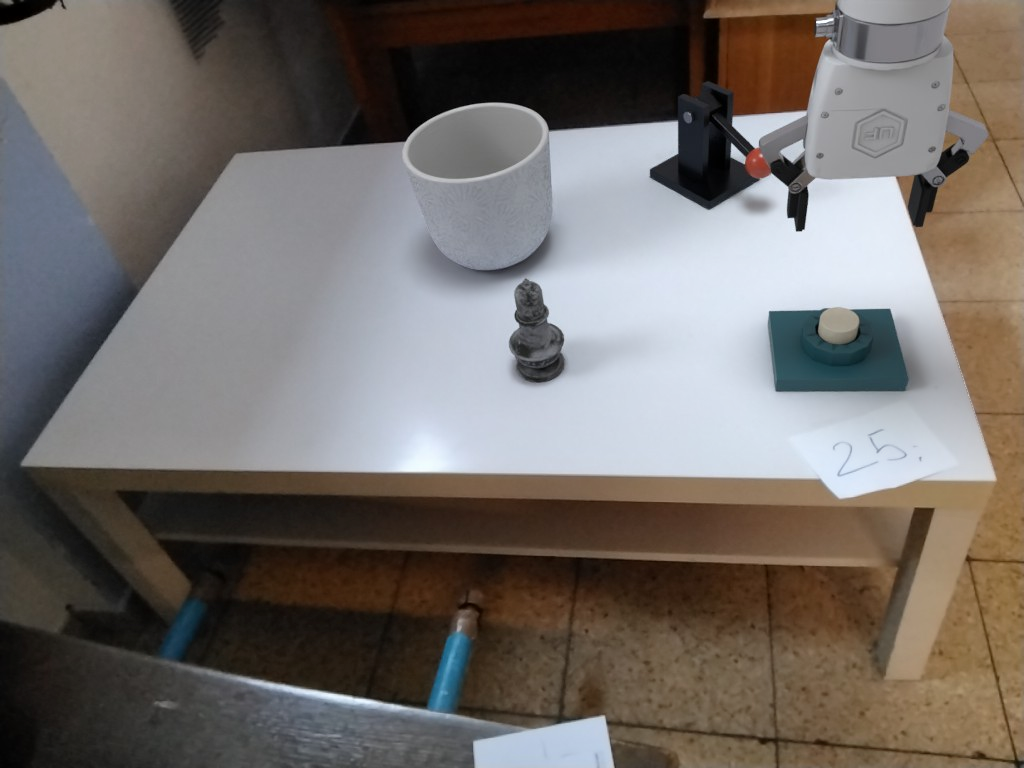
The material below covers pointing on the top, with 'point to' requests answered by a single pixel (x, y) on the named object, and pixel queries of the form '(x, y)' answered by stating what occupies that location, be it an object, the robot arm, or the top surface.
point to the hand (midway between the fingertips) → (855, 220)
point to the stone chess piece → (535, 336)
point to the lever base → (703, 153)
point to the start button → (838, 326)
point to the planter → (483, 182)
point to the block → (836, 354)
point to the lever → (735, 138)
